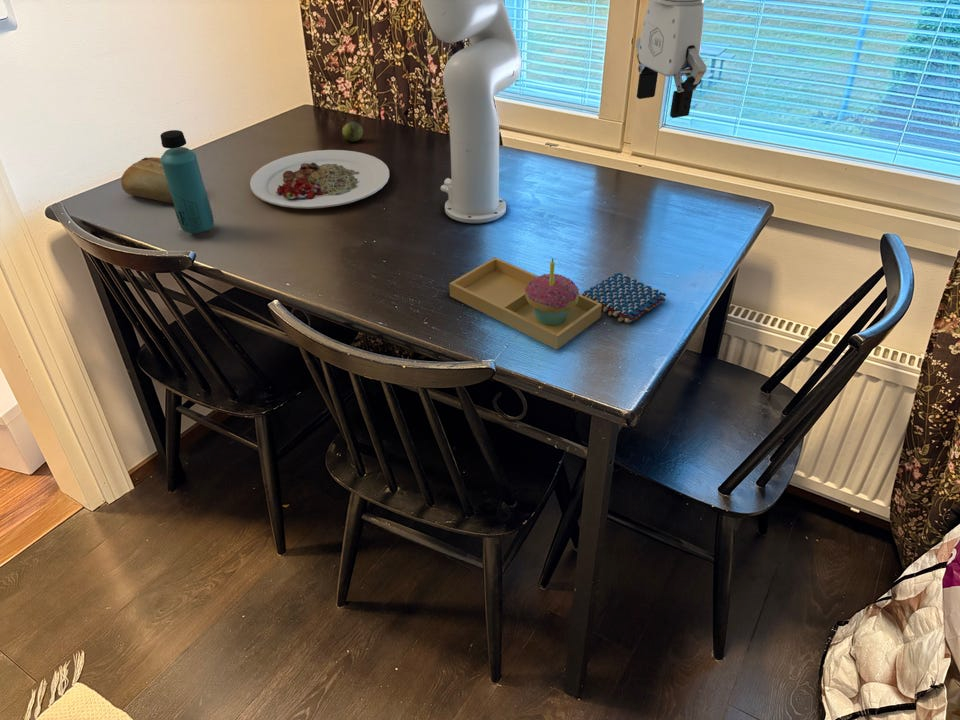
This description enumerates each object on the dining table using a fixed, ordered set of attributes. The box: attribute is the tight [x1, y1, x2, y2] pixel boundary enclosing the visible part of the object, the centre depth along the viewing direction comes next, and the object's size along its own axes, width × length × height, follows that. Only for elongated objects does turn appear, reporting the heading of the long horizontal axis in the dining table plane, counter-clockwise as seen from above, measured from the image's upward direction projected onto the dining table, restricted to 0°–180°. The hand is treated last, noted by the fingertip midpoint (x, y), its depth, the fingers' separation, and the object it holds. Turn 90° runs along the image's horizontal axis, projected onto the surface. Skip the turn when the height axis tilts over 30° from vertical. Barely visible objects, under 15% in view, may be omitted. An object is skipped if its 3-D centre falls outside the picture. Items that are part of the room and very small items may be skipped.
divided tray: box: [449, 256, 603, 351], centre depth 118 cm, size 23×12×3 cm, turn 48°
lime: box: [341, 121, 364, 143], centre depth 176 cm, size 4×5×5 cm
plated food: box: [249, 149, 390, 209], centre depth 156 cm, size 30×30×3 cm
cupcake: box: [525, 257, 580, 325], centre depth 112 cm, size 9×8×12 cm
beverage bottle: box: [160, 129, 215, 234], centre depth 134 cm, size 6×7×20 cm
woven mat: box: [581, 272, 667, 323], centre depth 119 cm, size 10×11×2 cm
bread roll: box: [120, 157, 174, 204], centre depth 150 cm, size 10×15×8 cm, turn 75°
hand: (661, 106), depth 116 cm, fingers open, 9 cm apart
